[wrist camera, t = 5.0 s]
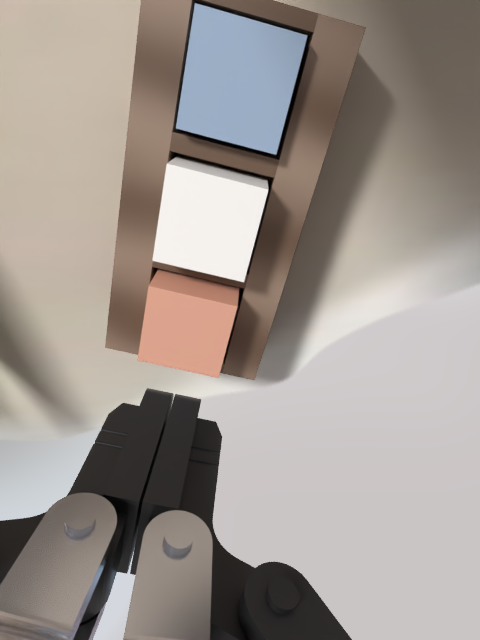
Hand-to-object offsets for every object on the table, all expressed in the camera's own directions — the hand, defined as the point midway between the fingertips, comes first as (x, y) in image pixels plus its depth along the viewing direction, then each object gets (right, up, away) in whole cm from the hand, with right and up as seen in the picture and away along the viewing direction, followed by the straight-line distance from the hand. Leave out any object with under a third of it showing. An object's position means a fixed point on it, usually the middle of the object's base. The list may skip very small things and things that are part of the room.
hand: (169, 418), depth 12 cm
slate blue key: (+2, +15, +10) cm, 18 cm away
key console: (+1, +10, +15) cm, 18 cm away
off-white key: (0, +9, +12) cm, 15 cm away
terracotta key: (-1, +3, +15) cm, 16 cm away
